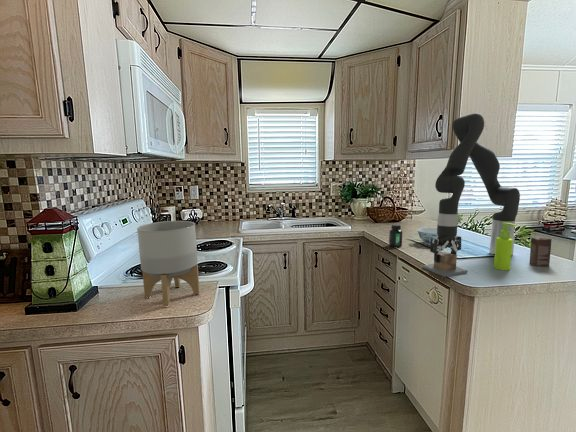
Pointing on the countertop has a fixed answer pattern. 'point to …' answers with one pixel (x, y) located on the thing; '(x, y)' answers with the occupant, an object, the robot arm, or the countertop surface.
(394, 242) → the supplement bottle
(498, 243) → the soap dispenser
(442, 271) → the slate tile
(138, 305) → the countertop surface
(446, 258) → the walnut cube
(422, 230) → the chinaware
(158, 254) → the planter
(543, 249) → the box
